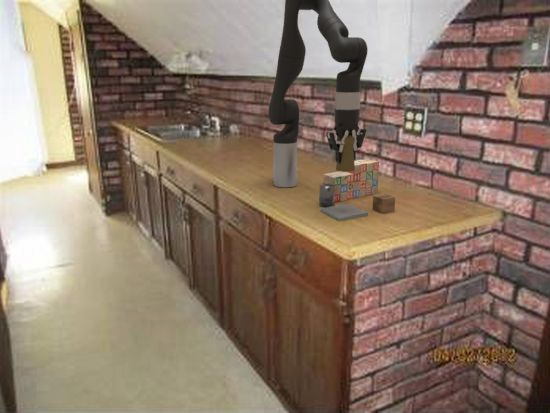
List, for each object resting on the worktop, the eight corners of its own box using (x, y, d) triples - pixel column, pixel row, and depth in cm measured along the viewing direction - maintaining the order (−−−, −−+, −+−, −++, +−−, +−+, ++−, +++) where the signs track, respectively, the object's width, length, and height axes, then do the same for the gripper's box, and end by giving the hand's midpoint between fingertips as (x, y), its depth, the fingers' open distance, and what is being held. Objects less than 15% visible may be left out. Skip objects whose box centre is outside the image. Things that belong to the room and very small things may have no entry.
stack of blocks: (333, 203, 164) (334, 168, 161) (322, 199, 169) (322, 165, 166) (377, 193, 175) (379, 161, 172) (365, 189, 180) (367, 158, 177)
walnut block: (372, 210, 157) (373, 195, 155) (384, 207, 159) (385, 193, 157) (382, 214, 152) (383, 199, 151) (394, 211, 154) (395, 197, 153)
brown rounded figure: (358, 170, 147) (360, 135, 144) (341, 172, 145) (342, 136, 142) (349, 166, 153) (350, 132, 149) (332, 168, 151) (333, 133, 147)
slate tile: (320, 211, 155) (320, 208, 155) (347, 206, 160) (347, 203, 160) (339, 221, 146) (339, 218, 146) (368, 215, 151) (368, 212, 151)
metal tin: (316, 204, 163) (316, 185, 161) (328, 202, 165) (329, 183, 163) (324, 208, 158) (324, 188, 156) (336, 206, 161) (337, 186, 158)
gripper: (358, 104, 149) (356, 158, 155) (320, 107, 143) (319, 163, 148) (373, 106, 143) (371, 162, 148) (334, 109, 137) (333, 167, 142)
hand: (345, 162), depth 148 cm, fingers closed on brown rounded figure, 4 cm apart
